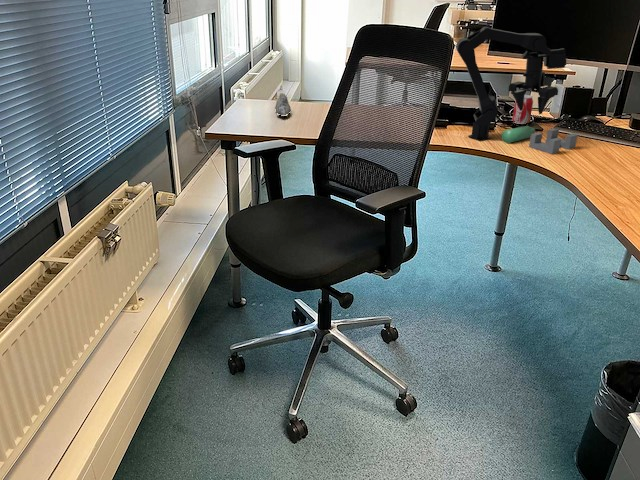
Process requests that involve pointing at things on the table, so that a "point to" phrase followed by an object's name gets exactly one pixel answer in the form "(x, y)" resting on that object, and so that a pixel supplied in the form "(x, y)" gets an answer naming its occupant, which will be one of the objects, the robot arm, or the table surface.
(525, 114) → the soda can
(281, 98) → the mineral rock
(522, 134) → the bottle
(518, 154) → the table surface
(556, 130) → the u rest
